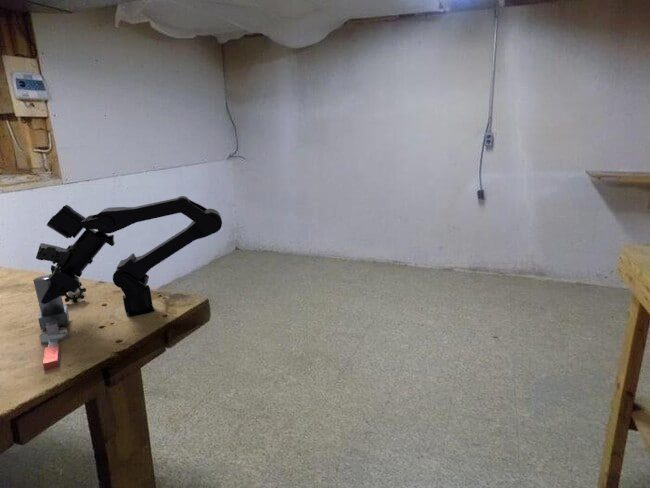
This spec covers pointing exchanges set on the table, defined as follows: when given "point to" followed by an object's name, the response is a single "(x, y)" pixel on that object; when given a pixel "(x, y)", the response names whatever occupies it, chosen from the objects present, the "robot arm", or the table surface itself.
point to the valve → (74, 294)
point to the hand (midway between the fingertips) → (43, 299)
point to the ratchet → (52, 344)
